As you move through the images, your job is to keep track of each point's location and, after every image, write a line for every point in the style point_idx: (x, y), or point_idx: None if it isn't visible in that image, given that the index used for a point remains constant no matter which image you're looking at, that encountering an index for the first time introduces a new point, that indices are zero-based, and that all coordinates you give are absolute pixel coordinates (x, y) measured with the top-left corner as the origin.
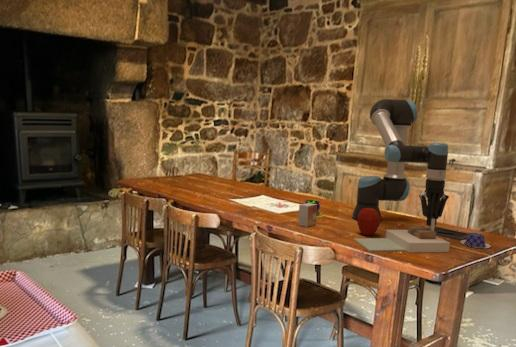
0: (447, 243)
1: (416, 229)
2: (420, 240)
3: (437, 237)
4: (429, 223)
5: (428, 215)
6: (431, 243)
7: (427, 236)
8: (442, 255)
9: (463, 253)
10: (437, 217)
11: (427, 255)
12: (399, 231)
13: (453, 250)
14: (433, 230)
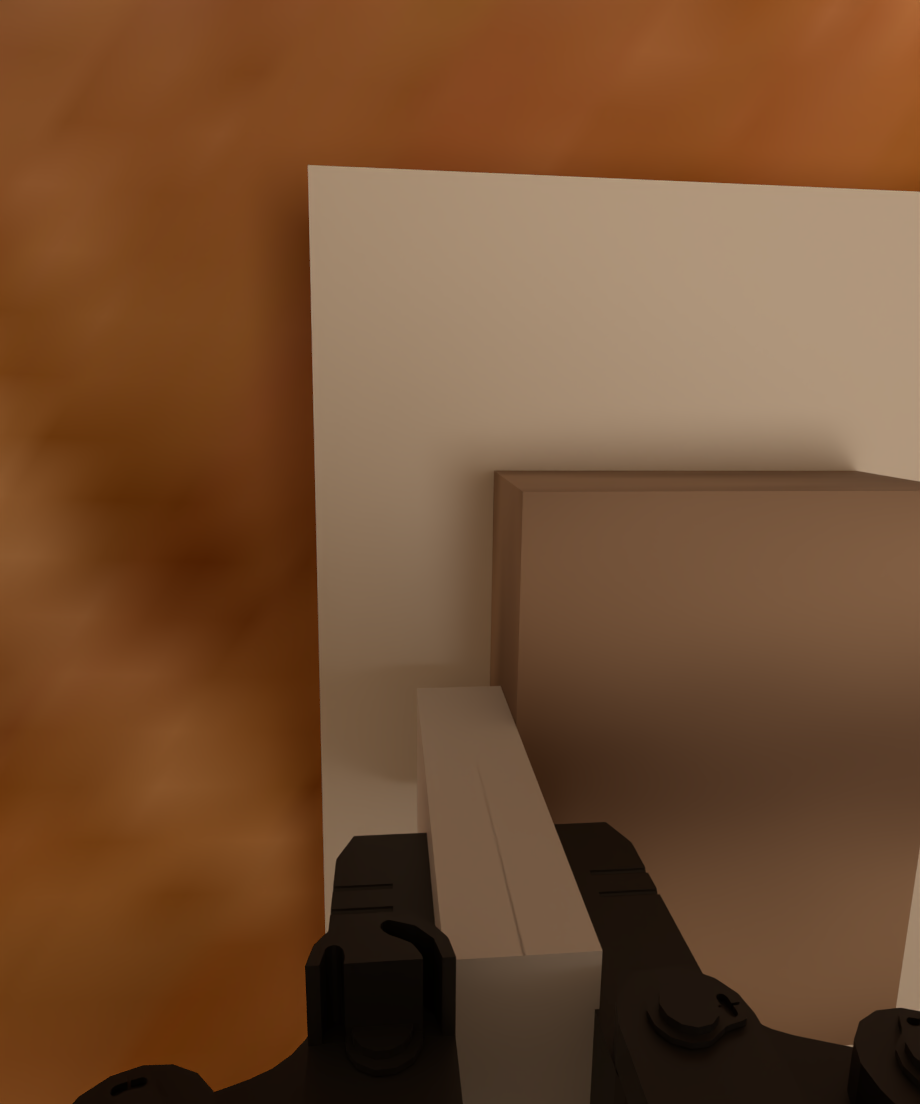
0: (373, 172)
1: (894, 762)
2: (913, 382)
3: (360, 593)
4: (600, 865)
5: (887, 1085)
6: (774, 192)
7: (720, 479)
8: (587, 29)
9: (67, 105)
10: (352, 995)
11: (869, 61)
12: (913, 997)
13: (168, 307)
14: (437, 722)
